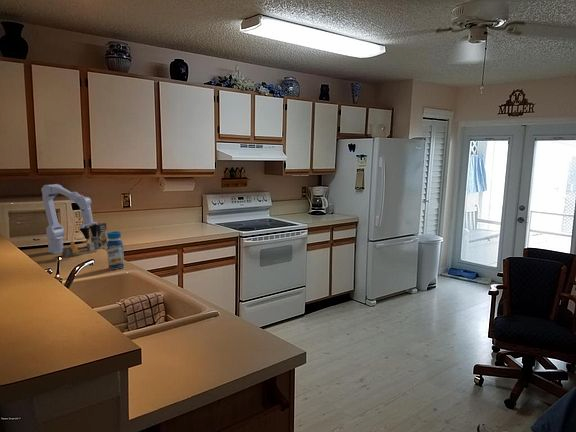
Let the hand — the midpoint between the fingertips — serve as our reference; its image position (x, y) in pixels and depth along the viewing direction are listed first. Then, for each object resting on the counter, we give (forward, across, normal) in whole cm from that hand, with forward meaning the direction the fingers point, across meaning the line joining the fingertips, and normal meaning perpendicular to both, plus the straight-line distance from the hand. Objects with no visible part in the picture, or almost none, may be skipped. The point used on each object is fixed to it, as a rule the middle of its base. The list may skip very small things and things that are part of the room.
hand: (91, 237), depth 271 cm
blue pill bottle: (+15, -29, -33) cm, 47 cm away
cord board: (+9, +1, +11) cm, 14 cm away
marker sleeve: (+8, -2, +12) cm, 15 cm away
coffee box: (+10, +20, +8) cm, 23 cm away
